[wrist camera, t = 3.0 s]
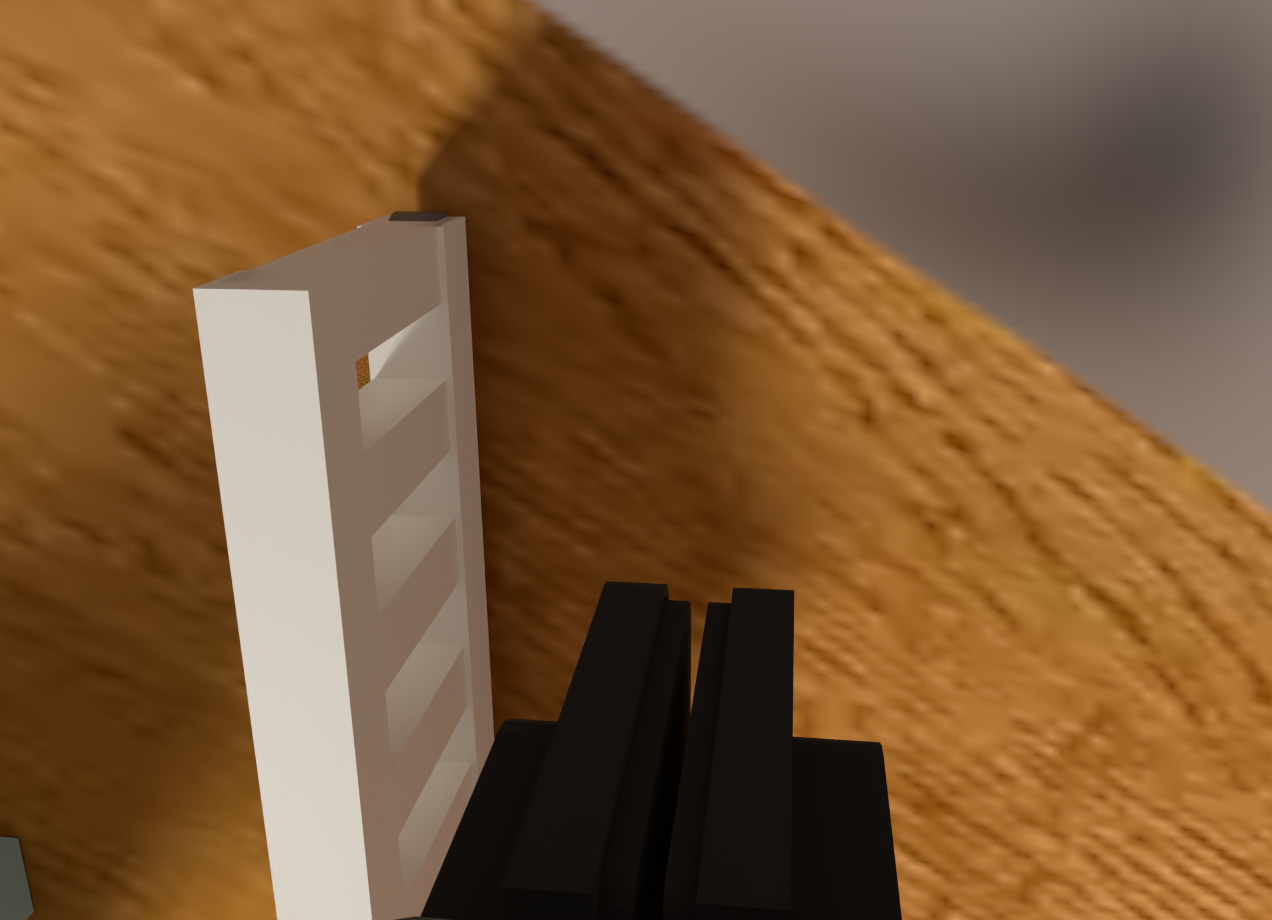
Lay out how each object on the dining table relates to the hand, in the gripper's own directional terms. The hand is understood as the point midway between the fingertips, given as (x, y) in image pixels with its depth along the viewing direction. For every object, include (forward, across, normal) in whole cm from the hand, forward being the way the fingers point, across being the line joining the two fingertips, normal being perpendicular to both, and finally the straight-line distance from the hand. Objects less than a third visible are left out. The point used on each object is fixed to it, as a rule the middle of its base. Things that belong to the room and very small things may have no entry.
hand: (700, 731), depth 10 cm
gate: (+10, +5, +2) cm, 12 cm away
